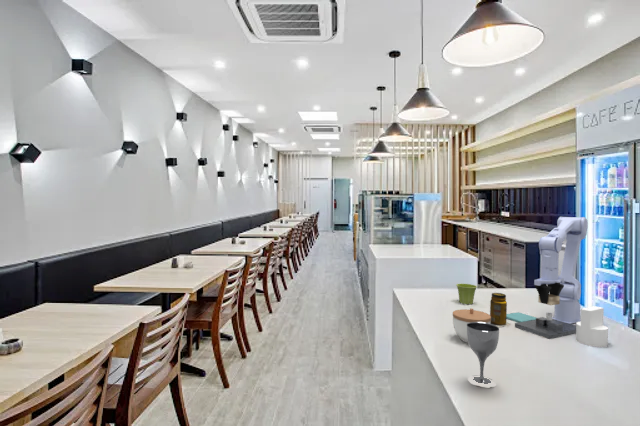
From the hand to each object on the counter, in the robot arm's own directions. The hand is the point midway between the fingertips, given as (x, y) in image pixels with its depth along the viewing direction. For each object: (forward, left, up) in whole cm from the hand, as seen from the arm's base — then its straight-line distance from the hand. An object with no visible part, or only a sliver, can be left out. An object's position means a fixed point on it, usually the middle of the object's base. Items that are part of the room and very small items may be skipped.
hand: (548, 302), depth 143 cm
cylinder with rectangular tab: (-1, +15, -11) cm, 19 cm away
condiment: (+13, -13, -11) cm, 21 cm away
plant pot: (0, -42, -11) cm, 43 cm away
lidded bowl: (+37, -3, -11) cm, 39 cm away
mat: (-2, -14, -10) cm, 17 cm away
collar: (0, 0, 0) cm, 0 cm away
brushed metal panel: (0, 0, -10) cm, 10 cm away
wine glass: (+59, +22, -11) cm, 64 cm away
